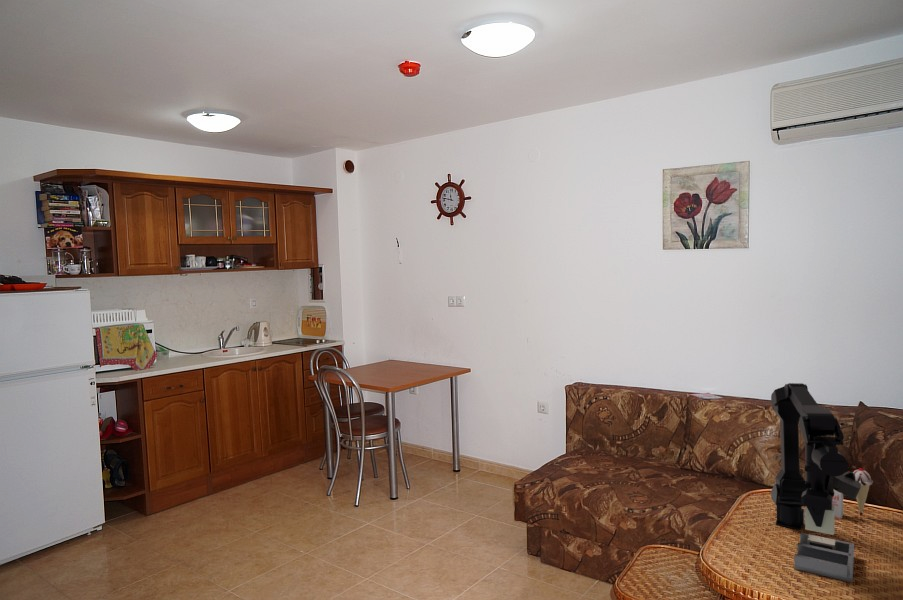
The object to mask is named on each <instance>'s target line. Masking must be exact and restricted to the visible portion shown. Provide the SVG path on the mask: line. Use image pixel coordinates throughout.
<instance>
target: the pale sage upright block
mask: <svg viewBox="0 0 903 600" xmlns="http://www.w3.org/2000/svg"><path fill="white" fill-rule="evenodd" d="M804 510H805V523H804V528H805V530H806V531H811V532H817V533H821V534H826V535H832V536H835V530H836V527H835V519H836V518H835V506H832V510H825V513H824V518H823V522H822V526H821V527H817V526H816V525H815V523H814V521H813V519H812V516H811V514H810V512H809V510H808V509H807V507H806V506H804Z"/></svg>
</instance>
